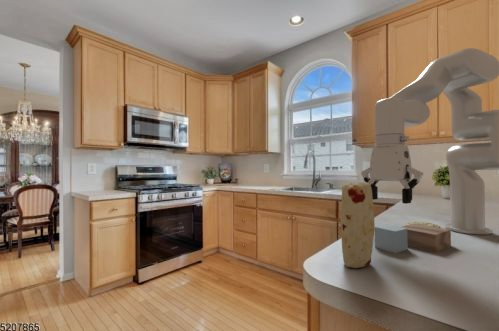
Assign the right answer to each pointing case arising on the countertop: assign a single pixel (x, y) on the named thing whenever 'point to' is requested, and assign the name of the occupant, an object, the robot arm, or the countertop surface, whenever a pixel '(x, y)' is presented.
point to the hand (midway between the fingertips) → (389, 201)
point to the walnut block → (428, 237)
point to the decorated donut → (424, 224)
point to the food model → (357, 224)
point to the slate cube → (391, 238)
